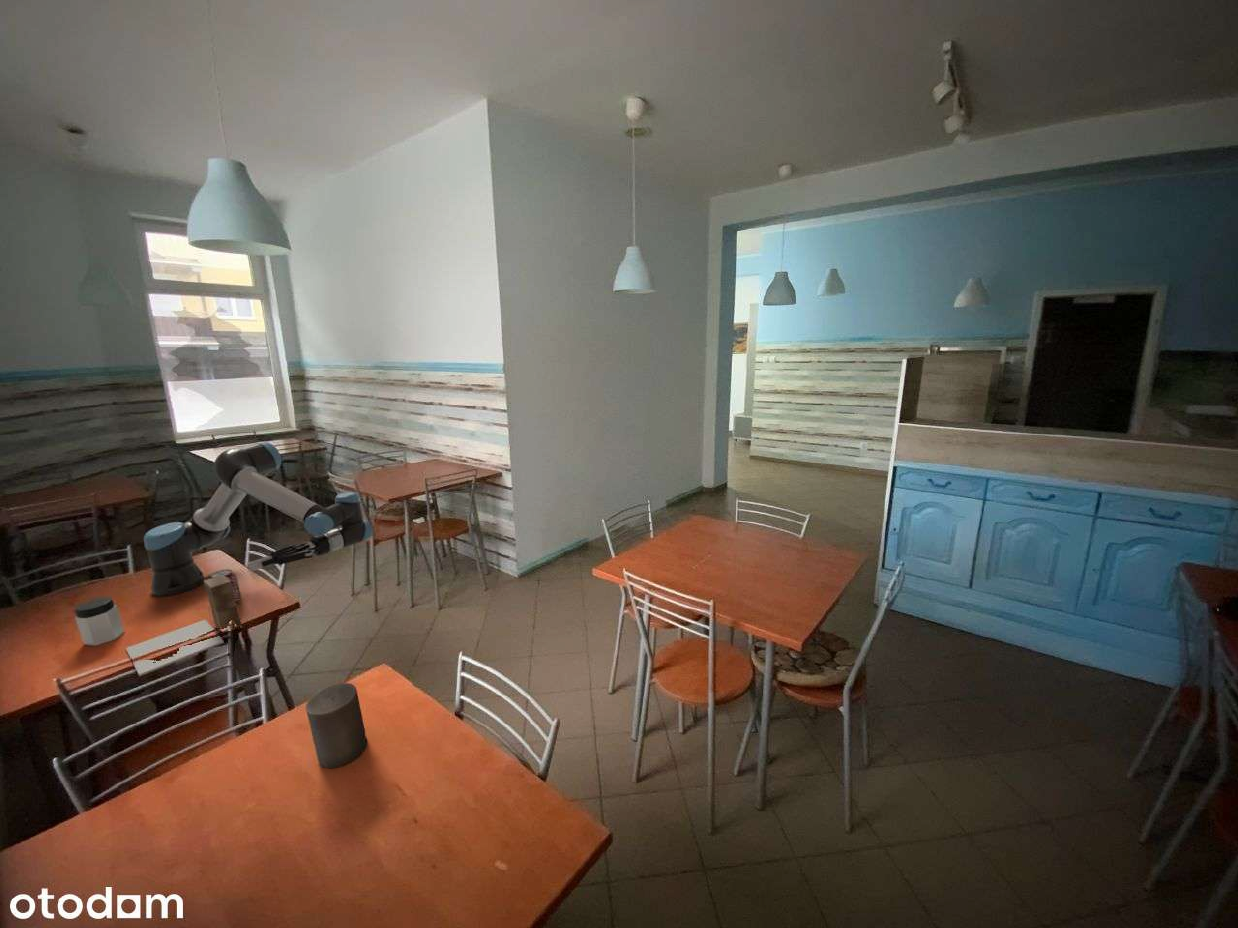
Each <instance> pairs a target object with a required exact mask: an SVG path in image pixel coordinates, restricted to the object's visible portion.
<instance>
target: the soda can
mask: <svg viewBox="0 0 1238 928" xmlns="http://www.w3.org/2000/svg"><path fill="white" fill-rule="evenodd" d="M220 575H224V576H225V577H226V578H228V579H229V580H230V581H231V585H232V589H233V593H234V597H235V601H236V605H237V606H238V604H239V603H240V602H241V601H242V597H241V591H240V587H239V583H238V579H237V576H236V573H235V572H233V570H232V569H222V570H217V571H215V572H213V573H212V574H211V575H210V577H211V578H213V577H216V576H220Z"/></svg>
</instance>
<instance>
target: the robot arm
mask: <svg viewBox="0 0 1238 928" xmlns="http://www.w3.org/2000/svg"><path fill="white" fill-rule="evenodd" d="M281 465H282V457H281V453H280V452H279V450H278V449H277V448H276V447H275V445H274V444H273V443H270V442H268V441H258V442H253V443H250V444H249V443H248V444H247V445H246V444H245V445H243V446H242V445H241V446H239V447H235V448H229V449H226V450H225V451H222V452H221V453H220V454H218V456H217V457H216V458H215V461H214V463H213V471H214V472H213V473H214V474H215V476H216V478H217V479H218V480H219V482H220V483H221V484H220V485H219V487H218V488H217V490H215V492H214V494H213V495H212V496H211V498H210V499H209V501H208V502H207V504H206V505H205V506H204V507H201V508H199V509H197V510H196V511H194V513H193V515H192V516H191V518H190V519H188V520H187V521H185V522H180V521H174V522H168V523H165V524H161V525H158V526H156V527H153V528H151V529H149V530H148V531H147V532H146V533H145V534H144V536H143V542H144V549H146V553H147V556H148V560H149V563H150V567H151V571H152V575H151V576H152V579H151V585H150V592H151V594H152V595H153V596H155V597H165V596H167V597H168V596H172V595H178V594H181V593H184V592H187V591H190V590H192V589H195V588H196V587H199V586H200V585H201V584H203V583H204V580H206V579H205V575H204V573H203V572H202V570H201V569H200V568H199V566H197V564H196V563H195V560H194V558H193V553H195V552H197V551H200V550H201V549H203V548H207V547H208V546H211V545H213V544H216V543H219V542H220V541H222V540H223V539H225V538H226V537H227V536H228V535H229V533H230V532H231V526H230V525H231V522H230V517H231V515H232V514H233V513H234V512H235V510H236V509H237V507H238V506H239V505H240V503H241V502H242V501H243V499H244V498H245V497H246V495H250V496H251V497H253V498H255V499H257V500H259V501H260V502H262V503H265V504H266V505H269V506H270V507H272V508H275V509H276V510H278V511H280V512H281V513H283V514H285V515H287V516H290V517H291V518H293V519H295V520H298V521H299V522H302V523H303V526H304V529H305V531H307V533H308V534H310V535H311V537H310V541H303V542H300V543H299V542H298V541H296V542H294V543H292V544H290V545H288V546H285V547H282V548H280V549H278V550H275V551H272V552H270V554H269V555H268V556H265V557H261V558H259V559H256V560H252V561H250V562H247V567H248V571H249V572H254V571H256V570H259V569H262V568H266V567H269V566H273V565H278V566H279V565H284V564H288V563H292V562H297V561H301V560H304V559H310V558H313V555H314V554H315V555H316V556H317V557H319V556H323V555H326V554H328V553H329V552H330V553H331V552H338V551H339V550H341V549H343V548H346V547H349V546H353V545H355V544H360V543H362V542H364V541H365V542H366V541H367V540H369V539H371V538H372V537H373V532H374V531H373V528H372V524H371V523H370V521H369V520H367V519H363V514H362V509H361V501H360V498H359V494H358V493H357V492H355V491H346V492H341V493H338V494H337V495H336V496H335V498H334V502H335V503H333V504H331V505H330V506H328V507H324V506H322V505H321V504H318V503H316V502H314V501H312V500H310V499H308V498H307V497H305V496H302V495H301V494H299V493H298V492H295V491H293V490H291V489H289V488H288V487H286V486H283V485H281V484H280V483H278V482H276V481H275V480H272V479H270V478H268V477H266V476H267V475H268V474H269V473H270V472H274V471H276V470H278V469H279V468H280V467H281Z"/></svg>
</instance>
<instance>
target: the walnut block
mask: <svg viewBox="0 0 1238 928" xmlns="http://www.w3.org/2000/svg"><path fill="white" fill-rule="evenodd" d="M203 583H204V587H205V591H206V592H205V593H206V595H207V598H208V602H209V606H210V609H211V615H212V618H213V622H214V625H215V627H216V628H217V629H218V628H220V629H224V628H227V626H228V624H229V622H230V621H231V620H234V622H235V624H236V625H237V626H240V628H243V626H242V625H243V624H242V620H241V617H240V614H239V609H238V604H237V605H236V601H235V597H234V593H233V589H232V585H231V581H230V580H229V579H228V578H226V577H225V576H224V575H220V576H216V577H213V578H207V579H205V580H204V582H203Z"/></svg>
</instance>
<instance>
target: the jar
mask: <svg viewBox="0 0 1238 928" xmlns="http://www.w3.org/2000/svg"><path fill="white" fill-rule="evenodd" d="M74 613H75V615H76V616H75V617H74V619H75V622H76V625H77V628H78V631H79V634H80V636H81V640H82V642H83V645H87V646H95V647H96V646H99V645H102V644H104V643H109V642H112V641H114V640H116V639H117V638H118V637H120V636H121V635H122V634H123V633H124V632H125V628H124V625H123V622H122V620H121V615H120V612H119V610H118V607H117V605H116V604H114V600H113V598H112V597H110V596H102V597H96V598H93V599H90V600H86V601H84V602H82V603H80V604H78V605H77V606H75V608H74Z"/></svg>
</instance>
